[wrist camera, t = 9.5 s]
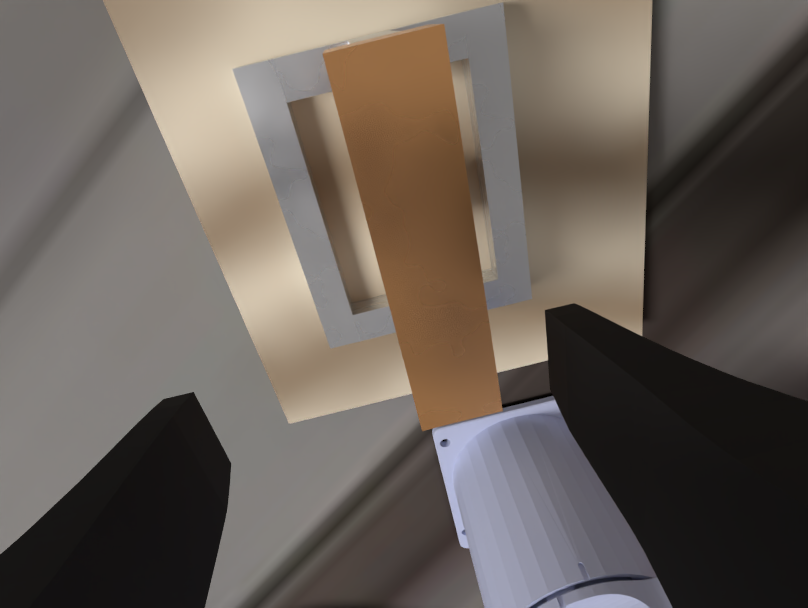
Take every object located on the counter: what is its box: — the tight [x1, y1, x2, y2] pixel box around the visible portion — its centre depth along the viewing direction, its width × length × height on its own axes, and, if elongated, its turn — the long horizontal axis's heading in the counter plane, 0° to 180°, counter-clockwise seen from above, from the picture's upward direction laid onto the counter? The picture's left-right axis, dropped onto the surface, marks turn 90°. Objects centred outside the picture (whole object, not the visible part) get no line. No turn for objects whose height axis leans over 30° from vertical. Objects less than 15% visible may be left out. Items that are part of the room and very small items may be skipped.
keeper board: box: [103, 0, 652, 424], centre depth 17 cm, size 18×16×4 cm
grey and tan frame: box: [232, 2, 532, 431], centre depth 15 cm, size 10×8×6 cm
